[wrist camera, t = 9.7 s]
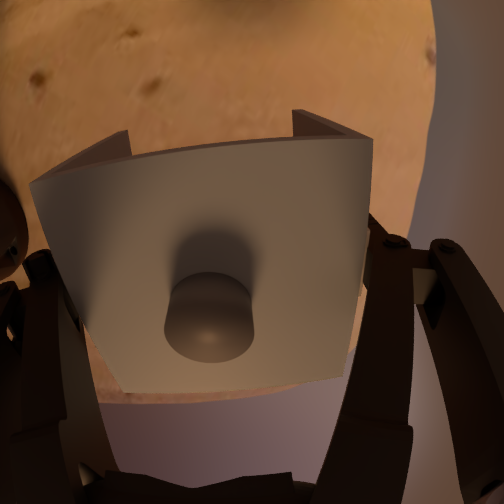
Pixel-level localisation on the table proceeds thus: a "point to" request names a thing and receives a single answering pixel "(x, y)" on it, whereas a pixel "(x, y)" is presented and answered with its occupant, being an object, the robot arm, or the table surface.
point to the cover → (214, 255)
